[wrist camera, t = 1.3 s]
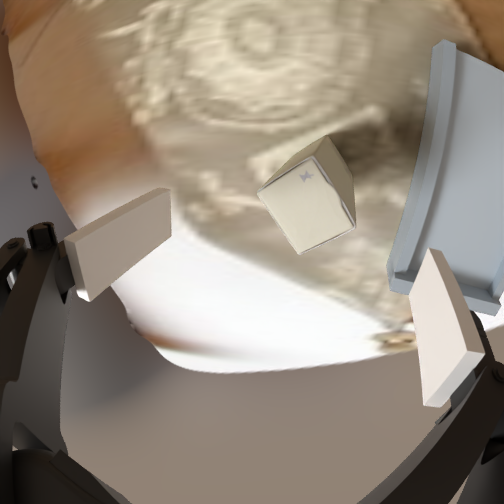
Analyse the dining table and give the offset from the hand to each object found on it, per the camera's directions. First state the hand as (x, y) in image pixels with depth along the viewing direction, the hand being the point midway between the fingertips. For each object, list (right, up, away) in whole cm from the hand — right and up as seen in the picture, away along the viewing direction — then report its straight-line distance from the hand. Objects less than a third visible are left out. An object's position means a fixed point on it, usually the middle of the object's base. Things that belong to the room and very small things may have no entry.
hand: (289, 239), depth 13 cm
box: (+5, +8, +14) cm, 17 cm away
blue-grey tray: (+21, +7, +8) cm, 23 cm away
